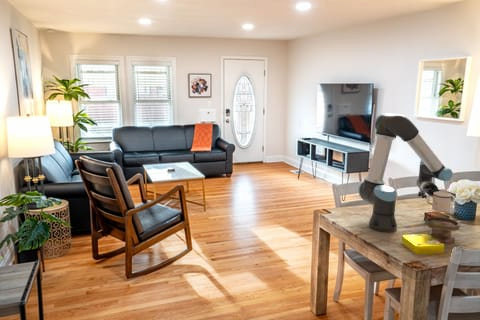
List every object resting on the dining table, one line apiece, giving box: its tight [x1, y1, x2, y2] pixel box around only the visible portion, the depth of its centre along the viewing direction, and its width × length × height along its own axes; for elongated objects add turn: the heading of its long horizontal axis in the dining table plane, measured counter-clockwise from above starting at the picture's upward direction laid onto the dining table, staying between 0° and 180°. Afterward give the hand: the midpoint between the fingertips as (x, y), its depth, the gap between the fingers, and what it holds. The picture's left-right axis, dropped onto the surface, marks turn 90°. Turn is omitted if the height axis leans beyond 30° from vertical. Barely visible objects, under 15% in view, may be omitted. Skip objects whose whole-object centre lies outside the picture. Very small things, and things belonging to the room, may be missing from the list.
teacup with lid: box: [426, 188, 452, 213], centre depth 204 cm, size 12×9×12 cm
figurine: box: [444, 201, 455, 215], centre depth 238 cm, size 7×9×15 cm
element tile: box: [401, 233, 445, 256], centre depth 188 cm, size 15×15×5 cm
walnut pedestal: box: [424, 215, 461, 244], centre depth 198 cm, size 16×16×9 cm
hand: (441, 199), depth 200 cm, fingers closed on teacup with lid, 12 cm apart
